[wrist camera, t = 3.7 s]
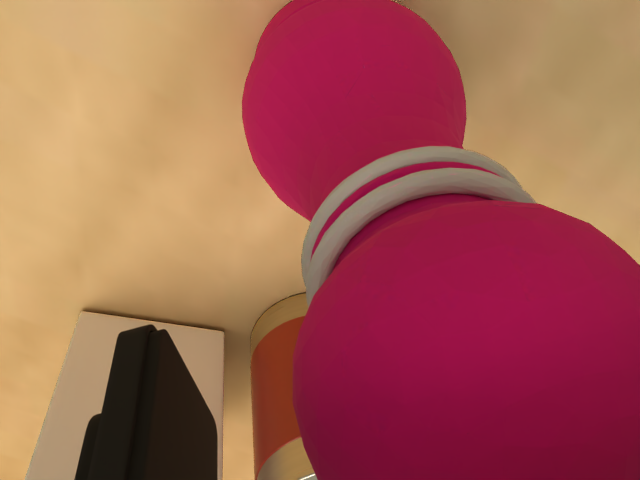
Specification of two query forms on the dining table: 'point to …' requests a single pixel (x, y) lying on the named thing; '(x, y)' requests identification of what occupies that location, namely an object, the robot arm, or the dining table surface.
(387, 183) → the pepper mill
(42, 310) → the dining table surface
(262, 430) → the sauce tin
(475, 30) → the dining table surface
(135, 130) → the dining table surface
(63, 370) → the milk carton
